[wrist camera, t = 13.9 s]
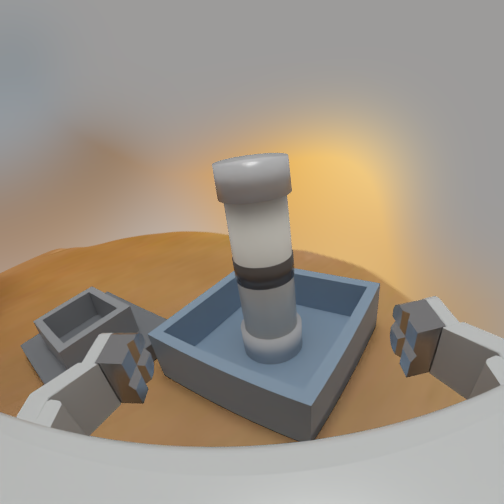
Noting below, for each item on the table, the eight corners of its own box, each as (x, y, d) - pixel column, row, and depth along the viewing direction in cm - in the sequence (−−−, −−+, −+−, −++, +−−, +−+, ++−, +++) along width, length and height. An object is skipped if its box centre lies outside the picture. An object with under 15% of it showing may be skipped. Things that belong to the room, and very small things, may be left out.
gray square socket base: (27, 357, 23) (9, 324, 22) (111, 302, 32) (100, 271, 30) (73, 422, 17) (45, 385, 15) (182, 338, 25) (169, 298, 24)
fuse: (233, 352, 21) (196, 167, 16) (265, 321, 24) (242, 154, 19) (283, 371, 19) (260, 164, 14) (312, 335, 22) (301, 152, 17)
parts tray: (164, 374, 21) (147, 334, 20) (254, 297, 30) (248, 260, 28) (310, 445, 15) (311, 406, 13) (375, 325, 23) (379, 283, 22)
